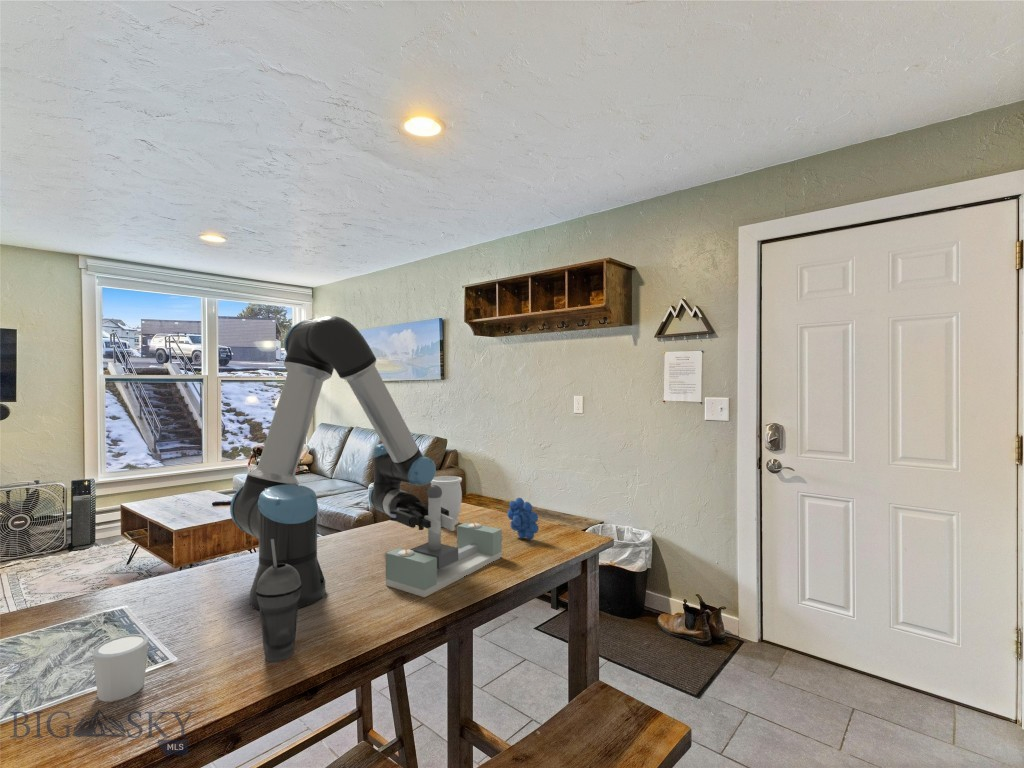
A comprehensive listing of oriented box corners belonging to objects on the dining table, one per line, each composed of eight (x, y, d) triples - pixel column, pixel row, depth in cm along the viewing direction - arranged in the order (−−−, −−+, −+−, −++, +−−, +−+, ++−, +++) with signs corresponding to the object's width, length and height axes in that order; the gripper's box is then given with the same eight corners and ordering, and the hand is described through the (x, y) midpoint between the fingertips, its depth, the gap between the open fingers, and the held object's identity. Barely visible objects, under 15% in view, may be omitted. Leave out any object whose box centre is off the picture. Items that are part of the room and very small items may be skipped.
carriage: (439, 569, 118) (439, 490, 117) (410, 561, 122) (410, 485, 122) (458, 560, 123) (458, 484, 123) (430, 553, 128) (430, 480, 128)
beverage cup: (290, 667, 84) (290, 546, 84) (246, 666, 84) (246, 545, 84) (309, 644, 92) (308, 533, 91) (268, 643, 92) (268, 532, 92)
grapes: (498, 537, 153) (498, 497, 153) (513, 532, 158) (513, 494, 158) (528, 546, 146) (528, 504, 146) (543, 540, 151) (543, 499, 151)
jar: (450, 517, 175) (450, 474, 175) (468, 524, 167) (468, 478, 167) (423, 523, 168) (423, 477, 168) (440, 530, 160) (440, 482, 160)
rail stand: (424, 597, 111) (424, 560, 111) (385, 585, 118) (385, 550, 118) (501, 557, 136) (501, 527, 136) (466, 549, 143) (466, 520, 143)
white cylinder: (90, 710, 73) (90, 661, 73) (94, 686, 79) (94, 641, 79) (149, 693, 77) (149, 647, 77) (148, 672, 83) (148, 629, 83)
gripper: (429, 515, 142) (475, 536, 123) (373, 525, 132) (414, 549, 114) (429, 488, 142) (475, 504, 123) (373, 496, 132) (414, 515, 113)
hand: (446, 526), depth 118 cm, fingers closed on carriage, 3 cm apart
